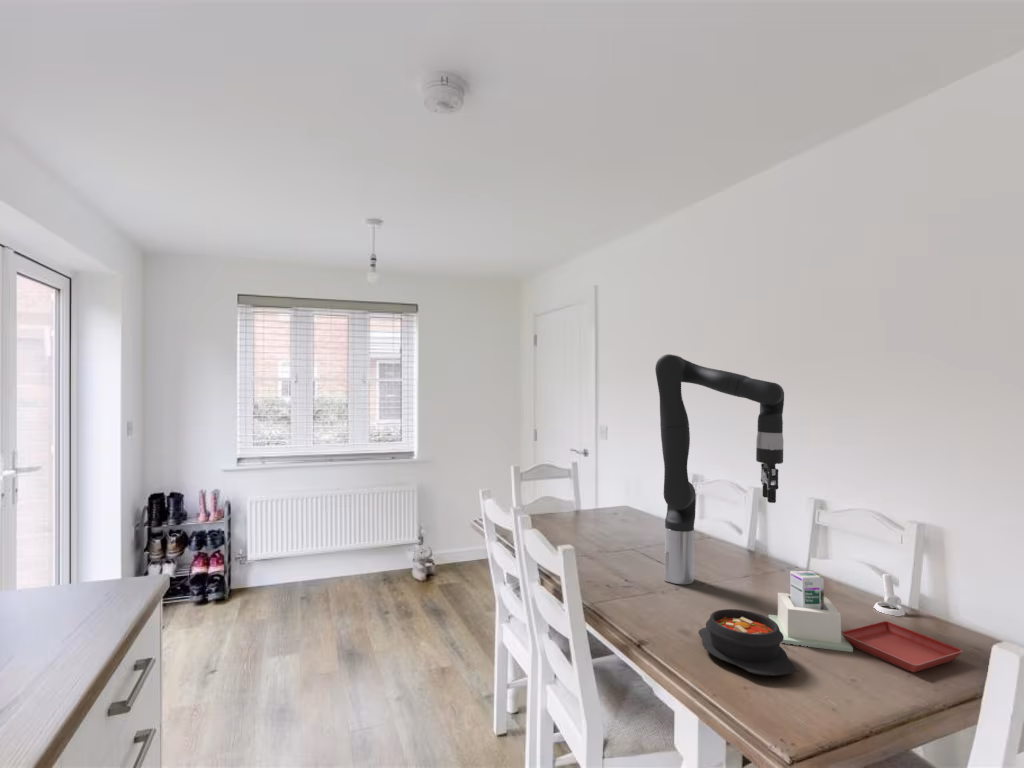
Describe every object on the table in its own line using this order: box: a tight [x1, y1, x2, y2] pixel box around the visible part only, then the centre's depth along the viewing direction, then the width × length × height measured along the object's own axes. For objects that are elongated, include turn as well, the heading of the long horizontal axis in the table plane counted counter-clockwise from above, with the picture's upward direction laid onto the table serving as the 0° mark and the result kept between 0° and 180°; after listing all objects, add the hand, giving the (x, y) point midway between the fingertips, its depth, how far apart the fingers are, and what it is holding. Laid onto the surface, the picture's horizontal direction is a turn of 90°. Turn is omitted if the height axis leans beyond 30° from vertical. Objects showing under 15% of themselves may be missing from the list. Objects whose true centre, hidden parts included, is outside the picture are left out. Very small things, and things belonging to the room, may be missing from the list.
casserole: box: [698, 608, 796, 677], centre depth 129 cm, size 25×19×8 cm
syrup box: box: [789, 570, 825, 610], centre depth 143 cm, size 6×6×14 cm
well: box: [767, 592, 854, 653], centre depth 142 cm, size 16×16×8 cm
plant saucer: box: [841, 620, 963, 673], centre depth 132 cm, size 18×18×3 cm
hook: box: [873, 573, 906, 617], centre depth 160 cm, size 8×12×7 cm
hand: (769, 499), depth 168 cm, fingers open, 8 cm apart
